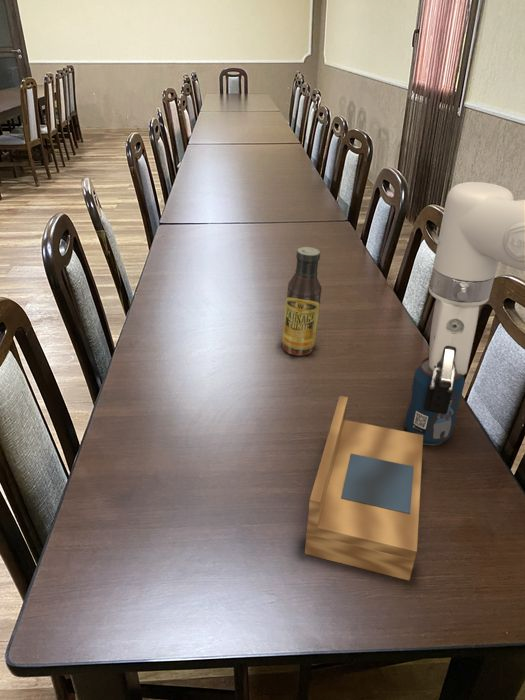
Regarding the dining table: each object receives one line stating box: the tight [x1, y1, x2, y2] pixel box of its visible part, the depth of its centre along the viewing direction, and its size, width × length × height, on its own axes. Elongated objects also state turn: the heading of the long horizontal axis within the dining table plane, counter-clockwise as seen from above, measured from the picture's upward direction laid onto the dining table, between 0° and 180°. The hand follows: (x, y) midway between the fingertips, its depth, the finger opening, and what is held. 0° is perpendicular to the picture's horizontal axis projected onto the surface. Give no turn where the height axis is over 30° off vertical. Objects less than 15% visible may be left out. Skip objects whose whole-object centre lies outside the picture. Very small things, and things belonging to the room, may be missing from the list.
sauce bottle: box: [281, 246, 323, 357], centre depth 97 cm, size 7×6×20 cm
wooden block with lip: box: [304, 395, 424, 581], centre depth 67 cm, size 12×20×9 cm, turn 164°
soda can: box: [404, 356, 466, 446], centre depth 79 cm, size 7×7×12 cm
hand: (435, 394), depth 78 cm, fingers closed on soda can, 7 cm apart
